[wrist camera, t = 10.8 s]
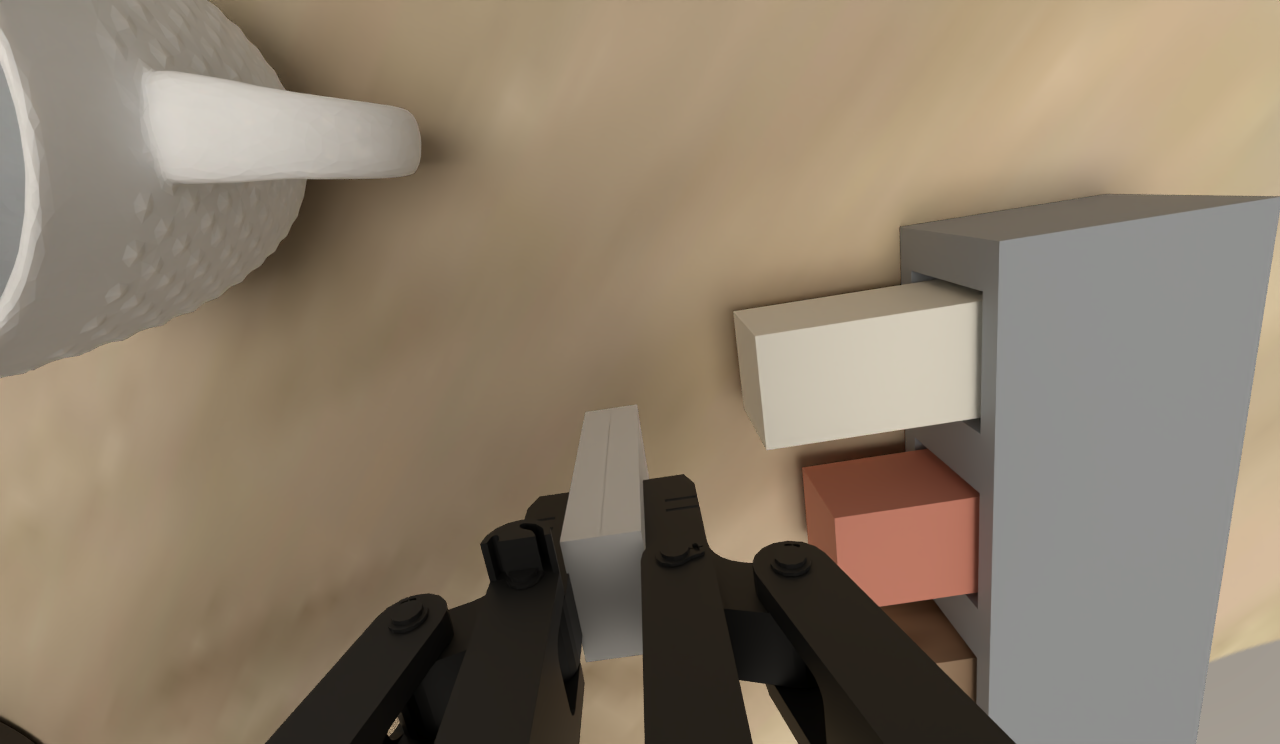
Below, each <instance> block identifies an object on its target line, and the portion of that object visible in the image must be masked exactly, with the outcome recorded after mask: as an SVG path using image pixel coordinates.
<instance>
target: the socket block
mask: <svg viewBox="0 0 1280 744" xmlns="http://www.w3.org/2000/svg"><path fill="white" fill-rule="evenodd" d="M1279 212H1280V196H1210V195H1140V194H1103V195H1097V196H1090V197H1084V198H1078V199H1072V200H1065V201H1059V202H1053V203H1047V204H1040V205H1034V206H1028V207H1021V208H1015V209H1009V210H1003V211H996V212H990V213H984V214H977V215H971V216H965V217H959V218H952V219H946V220H940V221H934V222H927V223H921V224H915V225H908V226H902V227H900V252H901V285H904V284H911V283H917V282H923V281H930V280H936V279H941V280H945V281H948V282H952V283H955V284H959V285H962V286H966V287H969V288H972V289H976V290H979V291H983V307H982V372H981V418H975V419H969V420H962V421H955V422H949V423H942V424H936V425H929V426H923V427H916V428H909V429H905V450H906V452H908V451H915V450H921V449H929V450H930V451H931V452H932V453H934V454H935V455H936V456H937V457H938V458H939V459H941V460H942V461H943V462H944V463H945V464H946V465H948V466H949V467H950V468H951V469H952V470H953V471H955V472H956V473H957V474H958V475H959V476H960V477H961V478H963V479H964V480H965V481H966V482H967V483H968V484H970V485H971V486H972V487H973V488H974V489H975V490H977V491H978V492H979V493H980V503H979V568H978V592H977V593H970V594H963V595H956V596H949V597H943V598H936V599H933V600H934V601H935V602H936V604H937V605H938V606H939V608H940V609H941V610H942V612H943V613H944V614H945V616H946V617H947V618H948V620H949V621H950V622H951V624H952V625H953V626H954V628H955V629H956V630H957V632H958V633H959V634H960V636H961V637H962V638H963V640H964V641H965V642H966V644H967V645H968V646H969V648H970V649H971V650H972V652H973V653H974V654H975V656H976V657H977V698H976V704H977V705H978V706H979V707H980V708H981V709H982V710H983V711H984V712H985V713H986V714H987V715H988V716H989V717H990V718H991V719H992V720H993V721H994V722H995V723H996V724H997V725H998V726H999V727H1000V728H1001V729H1002V730H1003V731H1004V732H1005V733H1006V734H1007V735H1008V736H1009V737H1010V738H1011V739H1012V740H1013V741H1014V742H1015V743H1016V744H1196V740H1197V734H1198V727H1199V721H1200V714H1201V708H1202V701H1203V695H1204V689H1205V683H1206V676H1207V670H1208V664H1209V657H1210V651H1211V645H1212V638H1213V632H1214V625H1215V619H1216V613H1217V606H1218V600H1219V594H1220V587H1221V581H1222V575H1223V568H1224V562H1225V555H1226V549H1227V543H1228V536H1229V530H1230V524H1231V517H1232V511H1233V505H1234V498H1235V492H1236V486H1237V479H1238V473H1239V466H1240V460H1241V454H1242V447H1243V441H1244V435H1245V428H1246V422H1247V416H1248V409H1249V403H1250V396H1251V390H1252V384H1253V377H1254V371H1255V365H1256V358H1257V352H1258V346H1259V339H1260V333H1261V327H1262V320H1263V314H1264V307H1265V301H1266V295H1267V288H1268V282H1269V276H1270V269H1271V263H1272V257H1273V250H1274V244H1275V237H1276V231H1277V225H1278V218H1279Z"/></svg>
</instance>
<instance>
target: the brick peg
mask: <svg viewBox="0 0 1280 744" xmlns="http://www.w3.org/2000/svg"><path fill="white" fill-rule="evenodd" d="M802 471H803V483H804V495H805V508H806V520H807V532H808V544H810V545H814V546H816V547H817V548H819V549H820V550H822V551H823V552H825V553H826V554H827V555H828V556H829V557H830V558H831V559H832V560H833V561H834V562H835V563H836V564H837V565H838V566H839V567H840V568H841V569H842V570H843V571H844V572H845V573H846V574H847V575H848V576H849V577H850V578H851V579H852V580H853V581H854V582H855V583H856V584H857V585H858V586H859V587H860V588H861V589H862V590H863V591H864V592H865V593H866V594H867V595H868V596H869V597H870V598H871V599H872V600H873V601H874V602H875V603H876V604H877V605H878V606H879V607H881V606H888V605H895V604H901V603H908V602H915V601H922V600H929V599H936V598H943V597H949V596H956V595H963V594H970V593H977V592H978V568H979V503H980V493H979V492H978V491H977V490H975V489H974V488H973V487H972V486H971V485H970V484H968V483H967V482H966V481H965V480H964V479H963V478H961V477H960V476H959V475H958V474H957V473H956V472H955V471H953V470H952V469H951V468H950V467H949V466H948V465H946V464H945V463H944V462H943V461H942V460H941V459H939V458H938V457H937V456H936V455H935V454H934V453H932V452H931V451H930V450H929V449H921V450H915V451H908V452H902V453H895V454H888V455H882V456H875V457H869V458H862V459H855V460H849V461H842V462H836V463H829V464H822V465H816V466H809V467H802Z"/></svg>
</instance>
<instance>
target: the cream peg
mask: <svg viewBox="0 0 1280 744" xmlns="http://www.w3.org/2000/svg"><path fill="white" fill-rule="evenodd" d="M982 307H983V291H979V290H976V289H972V288H969V287H966V286H962V285H959V284H955V283H952V282H948V281H945V280H941V279H936V280H930V281H923V282H917V283H911V284H904V285H898V286H891V287H885V288H879V289H872V290H866V291H860V292H853V293H847V294H841V295H834V296H828V297H821V298H815V299H809V300H802V301H796V302H790V303H783V304H777V305H771V306H764V307H758V308H752V309H745V310H739V311H733V315H734V324H735V333H736V342H737V351H738V360H739V369H740V378H741V387H742V396H743V405H744V410H745V412H746V413H747V415H748V417H749V419H750V421H751V423H752V424H753V426H754V428H755V430H756V432H757V434H758V436H759V437H760V439H761V441H762V443H763V445H764V447H765V448H766V450H771V449H778V448H784V447H791V446H798V445H804V444H811V443H817V442H824V441H830V440H837V439H844V438H850V437H857V436H863V435H870V434H876V433H883V432H890V431H896V430H903V429H909V428H916V427H923V426H929V425H936V424H942V423H949V422H955V421H962V420H969V419H975V418H981V372H982Z"/></svg>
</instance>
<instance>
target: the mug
mask: <svg viewBox="0 0 1280 744" xmlns="http://www.w3.org/2000/svg"><path fill="white" fill-rule="evenodd" d="M420 159H421V135H420V131H419V127H418V124H417V122H416V120H415V118H414V116H413V115H412V114H411V113H410V112H409V111H408V110H406V109H403V108H400V107H395V106H390V105H382V104H376V103H369V102H362V101H355V100H348V99H341V98H333V97H326V96H319V95H312V94H304V93H297V92H291V91H286V90H285V88H284V87H283V85H282V84H281V82H280V80H279V78H278V76H277V74H276V72H275V70H274V69H273V68H272V67H271V66H270V65H269V64H268V63H267V62H266V61H265V59H264V57H263V56H262V54H261V53H260V51H259V50H258V48H257V47H256V46H255V45H253V44H252V43H251V42H250V41H249V40H248V39H247V38H246V36H245V35H244V33H243V32H242V30H241V29H240V28H239V27H238V26H237V25H236V24H234V23H233V22H231V21H230V20H228V19H227V18H226V16H225V15H224V14H223V13H222V12H221V11H220V9H219V8H218V7H217V6H215V5H214V4H212V3H211V2H209V1H207V0H0V378H2V377H6V376H13V375H19V374H24V373H26V372H28V371H30V370H35V369H37V368H39V367H41V366H43V365H45V364H47V363H50V362H53V361H56V360H59V359H62V358H68V357H74V356H80V355H82V354H84V353H87V352H89V351H91V350H93V349H95V348H97V347H99V346H101V345H104V344H107V343H110V342H115V341H123V340H125V339H127V338H129V337H131V336H132V335H134V334H136V333H137V332H139V331H142V330H145V329H148V328H152V327H157V326H162V325H164V324H166V323H167V322H168V321H170V320H171V319H172V318H174V317H177V316H179V315H182V314H186V313H190V312H194V311H195V310H196V309H197V308H199V307H200V306H201V305H202V304H204V303H206V302H207V301H210V300H213V299H216V298H218V297H220V296H221V295H222V294H223V293H224V292H225V291H226V290H227V289H229V288H230V287H231V286H234V285H236V284H239V283H241V282H242V281H243V280H244V279H245V277H246V276H247V275H248V274H249V273H250V272H251V271H253V270H255V269H256V268H258V267H260V266H261V265H262V264H263V263H264V261H265V259H266V258H267V257H268V256H269V255H270V254H272V253H274V252H275V251H276V249H277V247H278V245H279V243H280V242H281V240H283V239H284V238H285V237H287V235H288V233H289V230H290V228H291V226H292V224H293V222H294V221H295V220H296V218H297V217H298V213H299V209H300V206H301V203H302V200H303V198H304V193H305V188H306V181H307V179H376V178H394V177H402V176H408V175H411V174H413V173H415V171H416V170H417V168H418V166H419V163H420Z"/></svg>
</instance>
